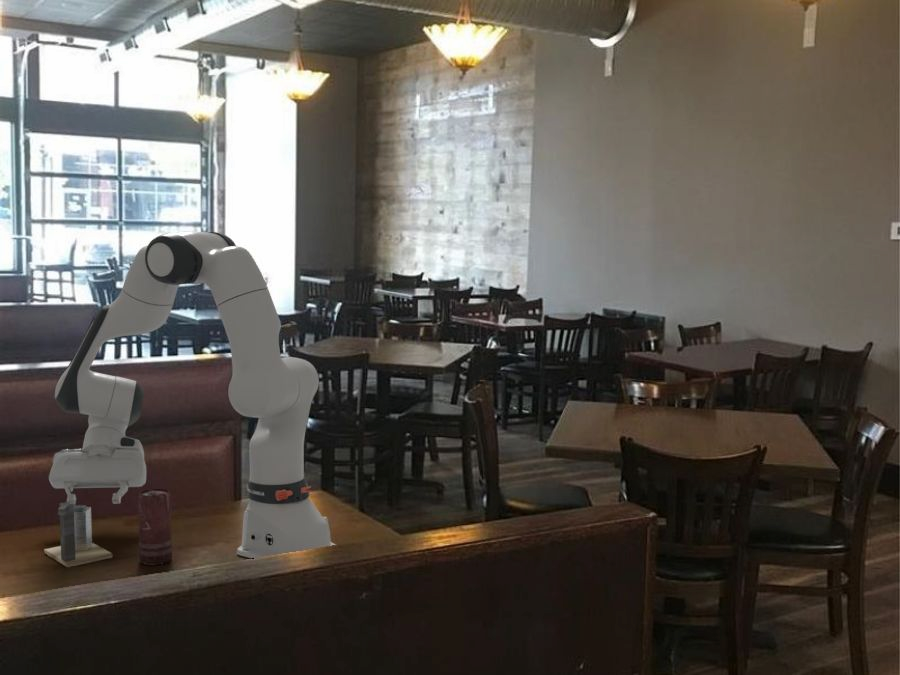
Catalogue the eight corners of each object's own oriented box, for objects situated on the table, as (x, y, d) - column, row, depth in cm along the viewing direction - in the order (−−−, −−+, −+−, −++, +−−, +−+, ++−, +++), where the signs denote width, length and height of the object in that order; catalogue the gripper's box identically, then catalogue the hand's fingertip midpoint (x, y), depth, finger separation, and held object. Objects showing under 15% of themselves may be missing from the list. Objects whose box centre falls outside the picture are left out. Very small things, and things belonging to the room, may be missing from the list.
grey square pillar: (92, 544, 197) (90, 503, 196) (86, 550, 193) (85, 509, 192) (71, 545, 196) (70, 504, 196) (66, 551, 192) (64, 509, 192)
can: (163, 566, 186) (162, 496, 184) (134, 564, 187) (132, 494, 186) (178, 557, 192) (177, 488, 190) (149, 555, 193) (148, 487, 192)
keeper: (115, 558, 190) (113, 499, 189) (61, 570, 183) (59, 509, 182) (88, 544, 200) (86, 487, 199) (35, 554, 193) (33, 496, 192)
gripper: (52, 441, 211) (39, 496, 203) (147, 440, 214) (138, 494, 205) (58, 457, 216) (46, 511, 207) (151, 455, 219) (143, 509, 210)
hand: (93, 502), depth 206 cm, fingers open, 8 cm apart
